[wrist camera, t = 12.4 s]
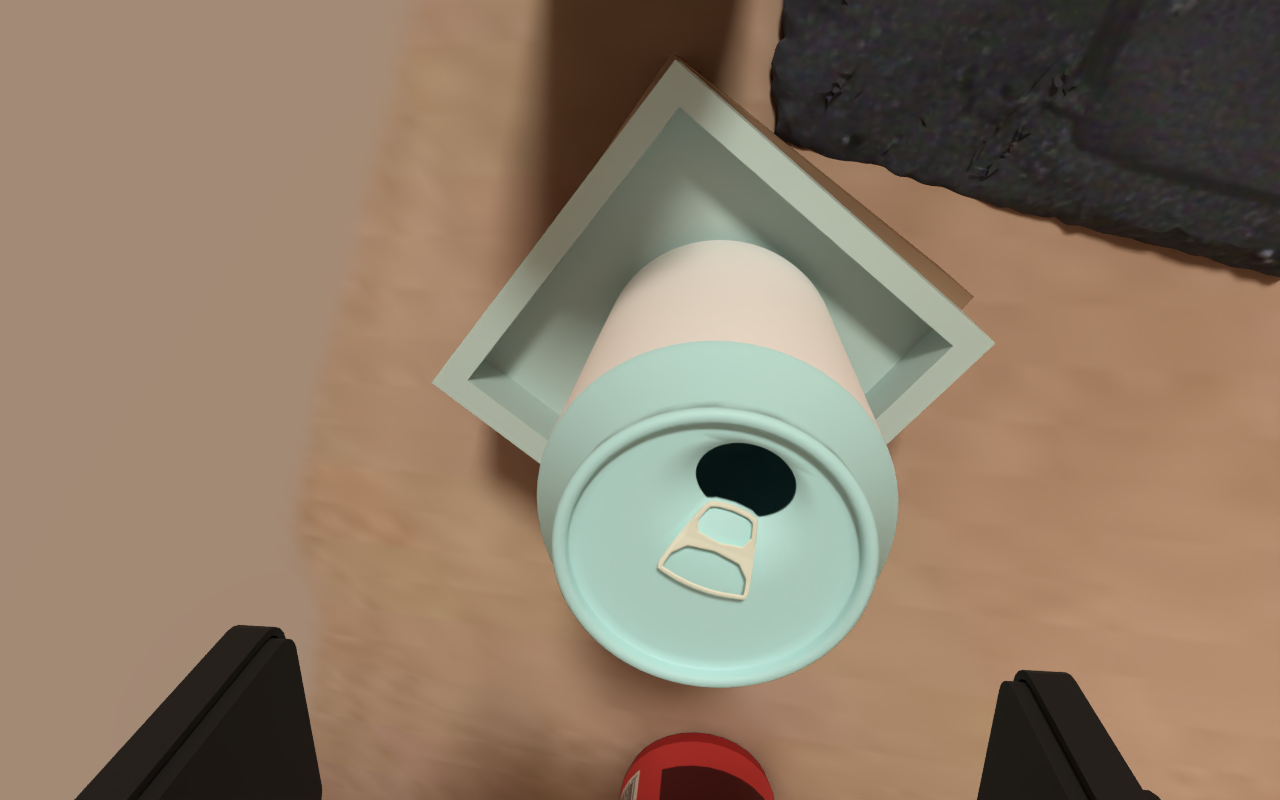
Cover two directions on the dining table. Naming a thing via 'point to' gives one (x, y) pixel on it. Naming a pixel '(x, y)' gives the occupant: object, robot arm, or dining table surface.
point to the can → (717, 474)
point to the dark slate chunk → (1055, 109)
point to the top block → (687, 213)
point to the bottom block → (861, 212)
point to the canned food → (695, 771)
